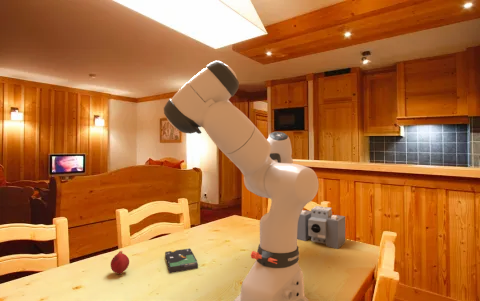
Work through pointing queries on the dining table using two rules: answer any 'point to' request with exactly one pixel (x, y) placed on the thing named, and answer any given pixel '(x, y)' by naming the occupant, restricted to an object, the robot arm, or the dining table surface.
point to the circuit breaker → (318, 223)
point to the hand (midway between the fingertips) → (284, 190)
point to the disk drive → (180, 260)
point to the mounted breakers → (333, 229)
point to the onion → (119, 263)
